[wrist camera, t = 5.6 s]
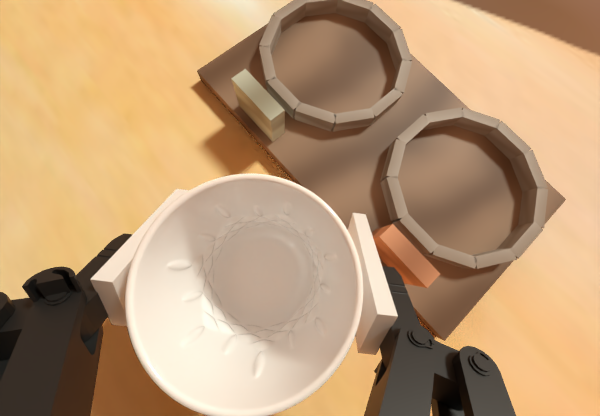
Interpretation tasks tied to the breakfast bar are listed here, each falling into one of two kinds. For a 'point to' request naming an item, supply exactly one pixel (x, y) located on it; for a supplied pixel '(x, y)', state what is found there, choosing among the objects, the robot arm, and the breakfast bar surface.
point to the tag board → (388, 149)
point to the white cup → (244, 296)
